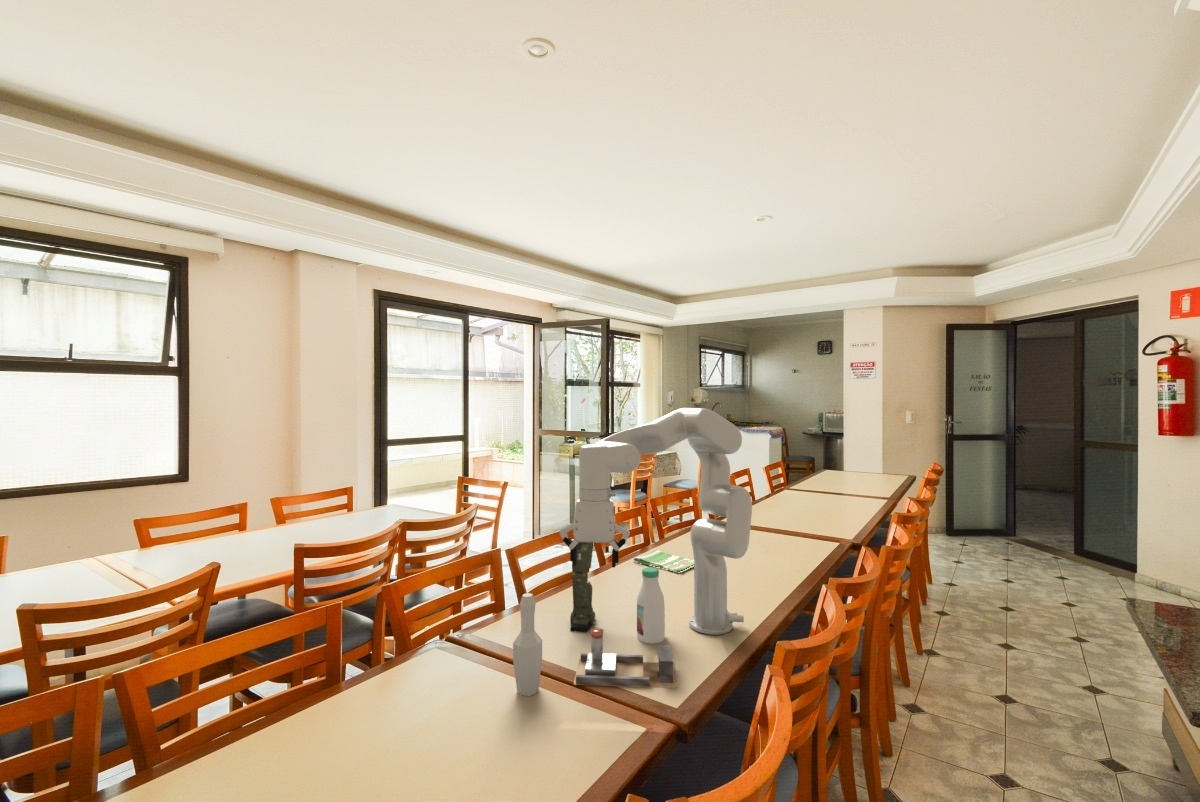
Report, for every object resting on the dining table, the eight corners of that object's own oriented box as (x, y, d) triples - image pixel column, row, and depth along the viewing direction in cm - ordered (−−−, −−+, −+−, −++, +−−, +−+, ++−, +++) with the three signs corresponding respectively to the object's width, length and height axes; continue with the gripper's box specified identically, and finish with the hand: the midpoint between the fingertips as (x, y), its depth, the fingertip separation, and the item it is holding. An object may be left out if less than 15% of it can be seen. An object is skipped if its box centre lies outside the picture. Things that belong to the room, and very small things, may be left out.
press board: (674, 666, 132) (674, 642, 132) (678, 693, 120) (677, 665, 120) (579, 663, 134) (579, 639, 134) (573, 689, 122) (573, 662, 122)
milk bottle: (667, 637, 149) (667, 566, 149) (661, 649, 142) (661, 575, 142) (640, 633, 152) (640, 564, 152) (633, 645, 144) (633, 572, 144)
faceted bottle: (529, 701, 117) (529, 602, 118) (508, 692, 121) (507, 596, 121) (547, 687, 123) (546, 593, 123) (526, 680, 126) (525, 588, 126)
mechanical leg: (587, 635, 149) (592, 525, 156) (562, 632, 150) (569, 524, 157) (597, 627, 162) (601, 526, 169) (574, 625, 163) (579, 525, 170)
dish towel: (679, 575, 204) (679, 568, 204) (632, 563, 219) (632, 557, 219) (703, 565, 217) (703, 558, 217) (657, 554, 233) (657, 548, 233)
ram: (616, 663, 131) (616, 624, 131) (614, 680, 123) (614, 638, 123) (588, 662, 132) (588, 623, 132) (585, 679, 124) (585, 637, 124)
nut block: (657, 670, 128) (657, 655, 128) (658, 677, 125) (658, 662, 125) (643, 669, 129) (643, 655, 129) (643, 677, 125) (643, 662, 125)
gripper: (630, 493, 132) (630, 561, 132) (562, 492, 134) (562, 559, 134) (629, 498, 125) (629, 571, 124) (556, 497, 126) (556, 568, 126)
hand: (594, 565), depth 129 cm, fingers open, 9 cm apart
